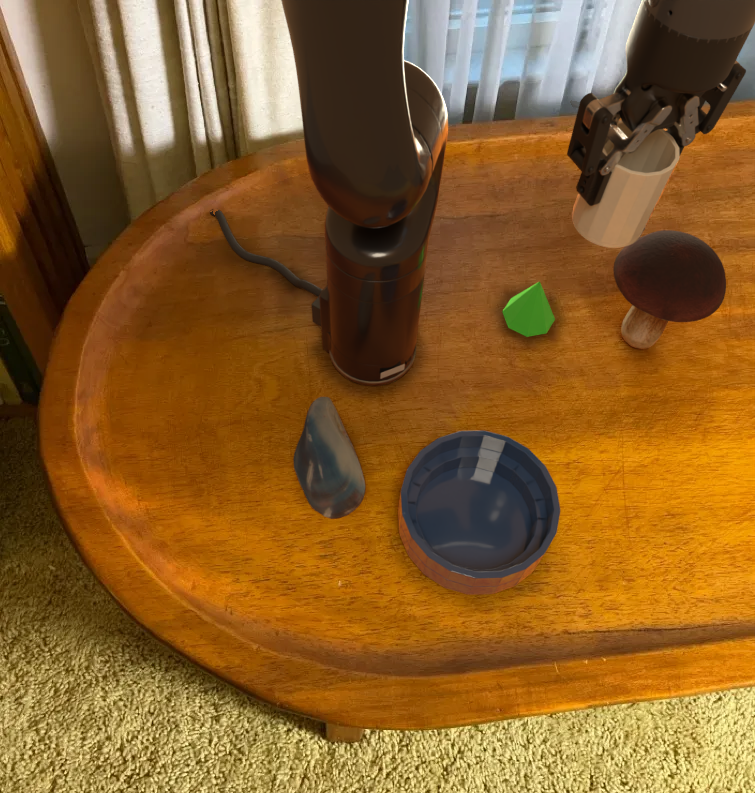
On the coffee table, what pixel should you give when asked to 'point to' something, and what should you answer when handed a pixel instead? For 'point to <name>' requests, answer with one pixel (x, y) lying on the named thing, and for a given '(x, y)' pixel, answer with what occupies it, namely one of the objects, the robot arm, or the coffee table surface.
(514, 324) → the gemstone
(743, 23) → the robot arm
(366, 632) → the coffee table surface
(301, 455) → the seashell
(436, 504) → the bowl
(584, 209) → the cup
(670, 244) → the decorative mushroom
